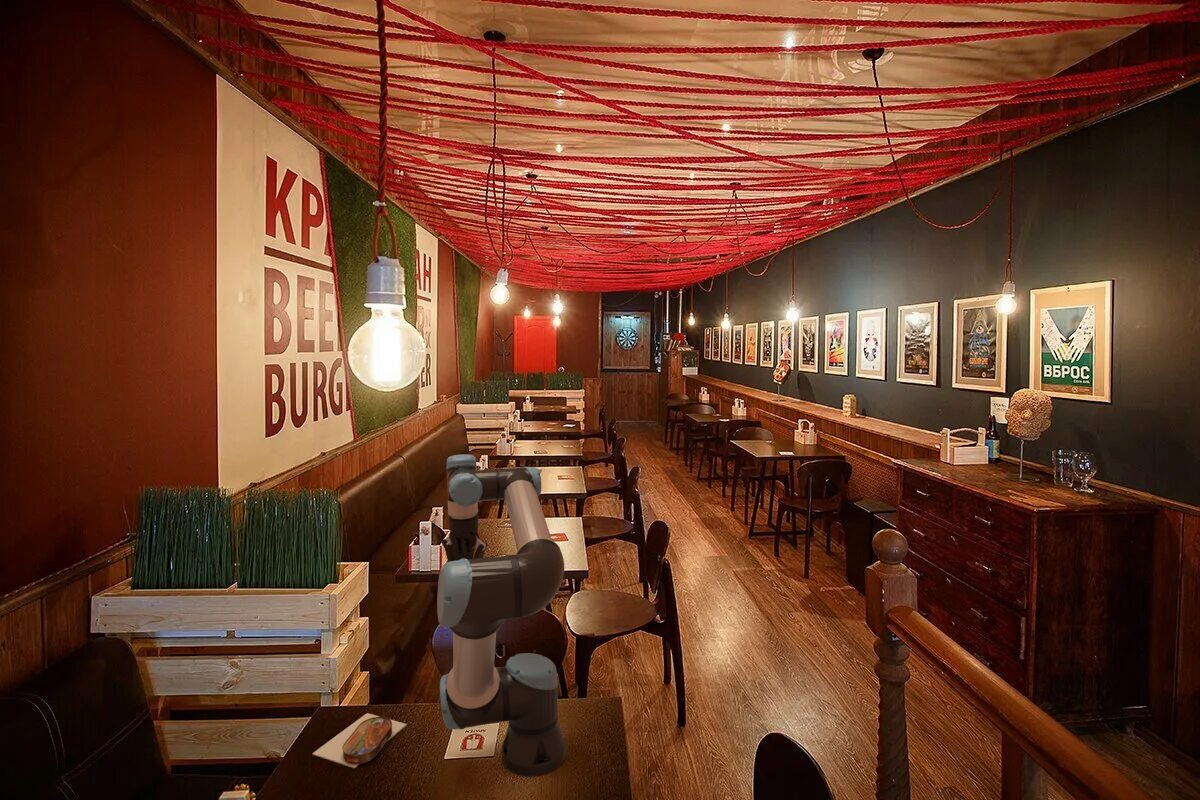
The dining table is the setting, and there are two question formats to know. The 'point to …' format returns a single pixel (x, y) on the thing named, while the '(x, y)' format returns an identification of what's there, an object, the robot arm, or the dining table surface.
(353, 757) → the tin
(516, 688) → the robot arm
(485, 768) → the dining table surface
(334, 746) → the placemat
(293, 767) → the dining table surface
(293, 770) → the dining table surface
